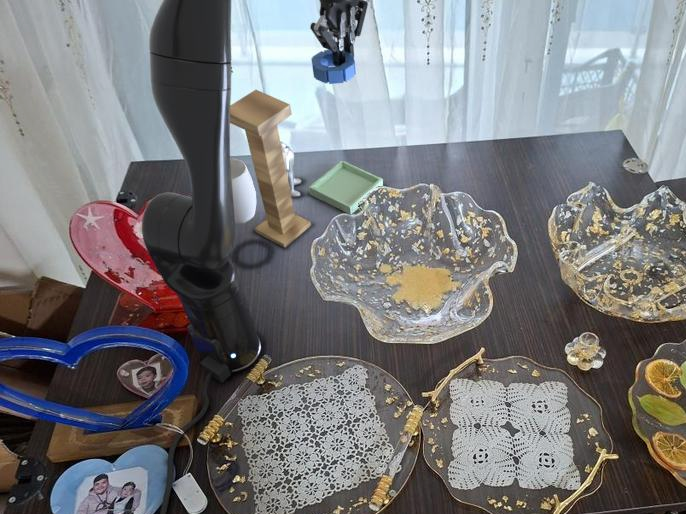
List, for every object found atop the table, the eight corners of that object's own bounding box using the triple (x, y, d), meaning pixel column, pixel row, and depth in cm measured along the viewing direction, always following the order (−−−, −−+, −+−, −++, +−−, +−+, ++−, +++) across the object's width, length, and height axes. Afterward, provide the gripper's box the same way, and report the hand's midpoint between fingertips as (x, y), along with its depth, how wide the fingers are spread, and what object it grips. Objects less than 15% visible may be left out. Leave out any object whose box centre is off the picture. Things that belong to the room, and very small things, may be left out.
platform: (284, 248, 122) (257, 126, 100) (255, 232, 125) (222, 110, 103) (311, 225, 126) (290, 104, 104) (282, 210, 129) (255, 89, 107)
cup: (234, 270, 118) (205, 185, 102) (233, 244, 123) (206, 158, 106) (272, 264, 119) (250, 179, 103) (270, 239, 124) (248, 154, 107)
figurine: (300, 199, 131) (291, 152, 122) (280, 199, 131) (270, 153, 122) (302, 178, 136) (293, 131, 126) (282, 178, 136) (273, 132, 126)
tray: (350, 215, 129) (350, 207, 127) (309, 194, 132) (308, 186, 131) (383, 186, 135) (382, 178, 133) (342, 167, 138) (342, 159, 137)
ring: (337, 88, 109) (336, 75, 107) (304, 74, 111) (302, 62, 109) (363, 70, 113) (362, 57, 111) (331, 57, 115) (330, 45, 113)
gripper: (326, -15, 95) (336, 88, 109) (378, -44, 102) (382, 55, 116) (289, -27, 97) (304, 74, 111) (343, -55, 105) (351, 44, 118)
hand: (344, 64), depth 113 cm, fingers closed on ring, 1 cm apart
